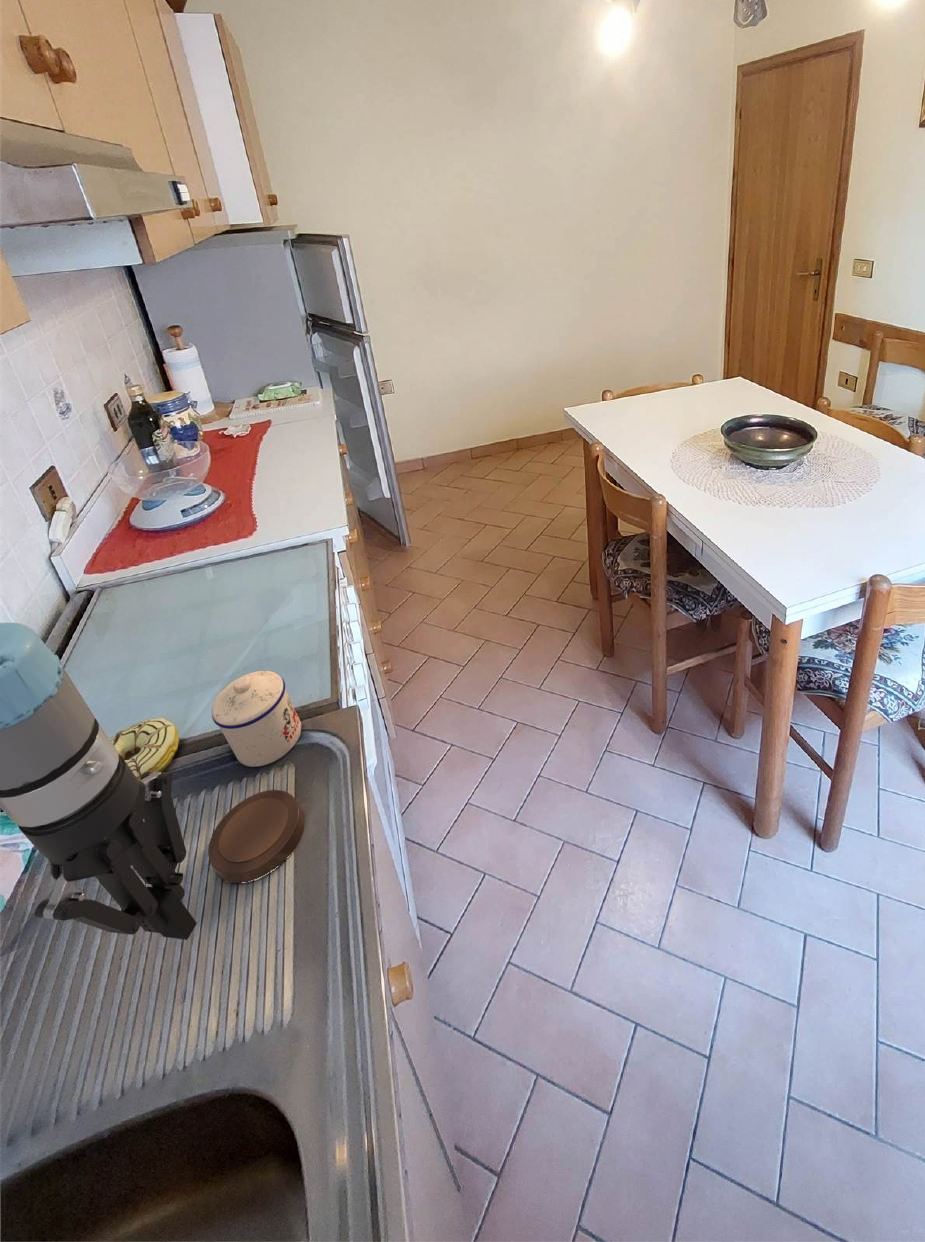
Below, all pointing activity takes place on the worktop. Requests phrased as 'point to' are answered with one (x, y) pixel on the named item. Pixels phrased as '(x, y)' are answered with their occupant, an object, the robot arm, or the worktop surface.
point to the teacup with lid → (257, 718)
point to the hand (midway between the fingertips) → (180, 929)
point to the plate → (256, 836)
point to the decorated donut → (147, 745)
